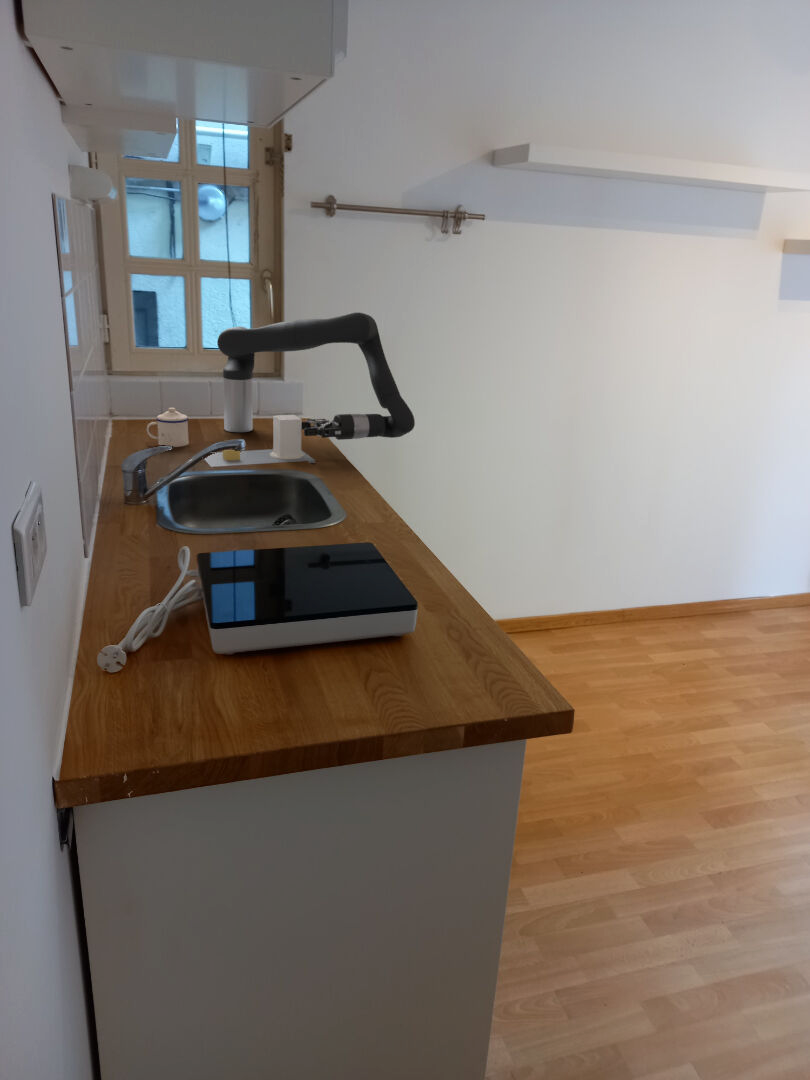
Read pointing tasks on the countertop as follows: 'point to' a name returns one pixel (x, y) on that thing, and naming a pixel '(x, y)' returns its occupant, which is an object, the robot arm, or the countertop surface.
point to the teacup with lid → (171, 428)
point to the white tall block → (287, 436)
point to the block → (231, 455)
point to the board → (254, 458)
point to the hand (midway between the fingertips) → (299, 429)
